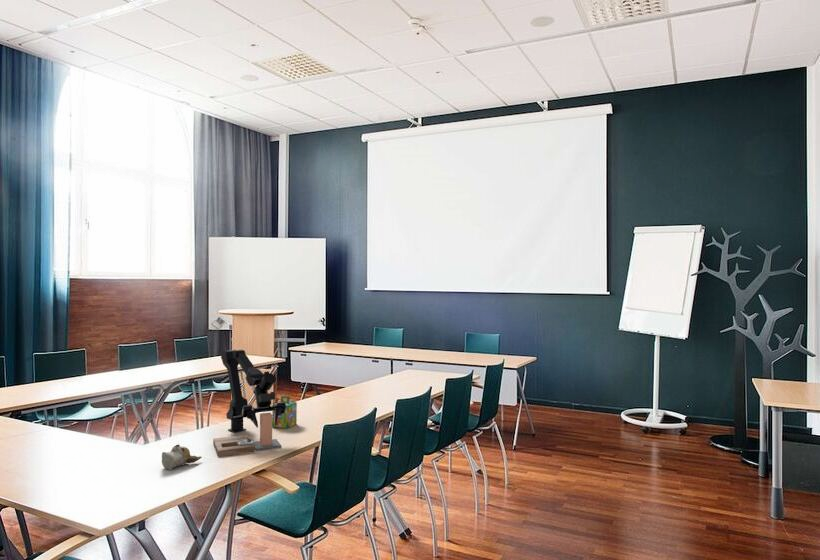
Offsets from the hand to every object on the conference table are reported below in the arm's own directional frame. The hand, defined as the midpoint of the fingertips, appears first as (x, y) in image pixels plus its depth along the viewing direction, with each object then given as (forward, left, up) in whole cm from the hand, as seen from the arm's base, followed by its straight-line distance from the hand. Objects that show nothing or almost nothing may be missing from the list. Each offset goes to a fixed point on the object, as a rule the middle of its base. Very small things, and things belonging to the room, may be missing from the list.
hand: (266, 426), depth 253 cm
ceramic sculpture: (-3, -38, -9) cm, 39 cm away
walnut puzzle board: (-9, -11, -9) cm, 17 cm away
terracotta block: (-1, 0, -8) cm, 8 cm away
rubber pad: (-1, 0, -9) cm, 9 cm away
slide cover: (-4, -8, -7) cm, 11 cm away
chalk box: (-26, +25, -9) cm, 37 cm away
